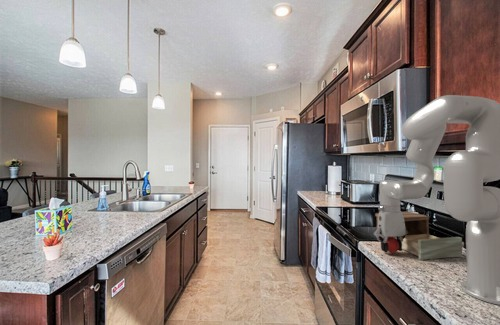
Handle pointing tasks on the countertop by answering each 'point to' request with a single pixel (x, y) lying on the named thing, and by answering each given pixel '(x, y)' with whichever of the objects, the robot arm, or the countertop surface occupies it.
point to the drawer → (432, 246)
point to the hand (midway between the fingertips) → (391, 250)
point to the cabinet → (413, 223)
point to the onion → (392, 245)
